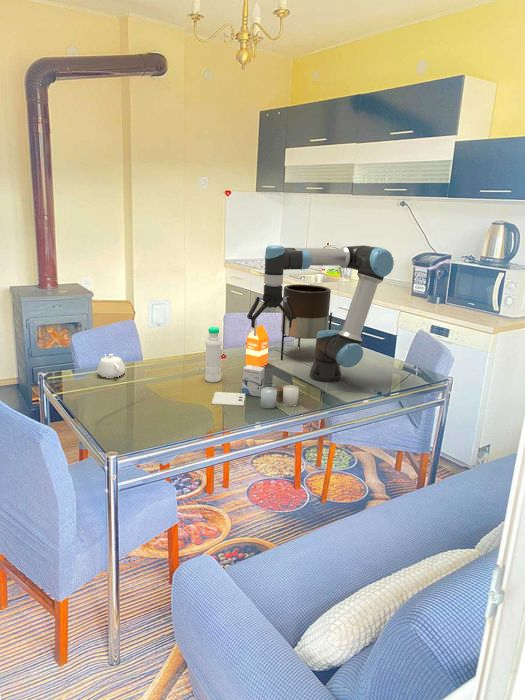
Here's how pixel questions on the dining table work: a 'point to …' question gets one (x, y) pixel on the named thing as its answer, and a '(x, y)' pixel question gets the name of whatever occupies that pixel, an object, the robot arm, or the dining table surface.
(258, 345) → the orange juice
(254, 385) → the ink box
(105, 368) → the teapot
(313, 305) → the planter
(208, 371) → the water bottle
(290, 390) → the cream rounded-top cylinder
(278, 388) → the walnut block
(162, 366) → the dining table surface
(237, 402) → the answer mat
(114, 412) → the dining table surface
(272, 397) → the domed pale cylinder
